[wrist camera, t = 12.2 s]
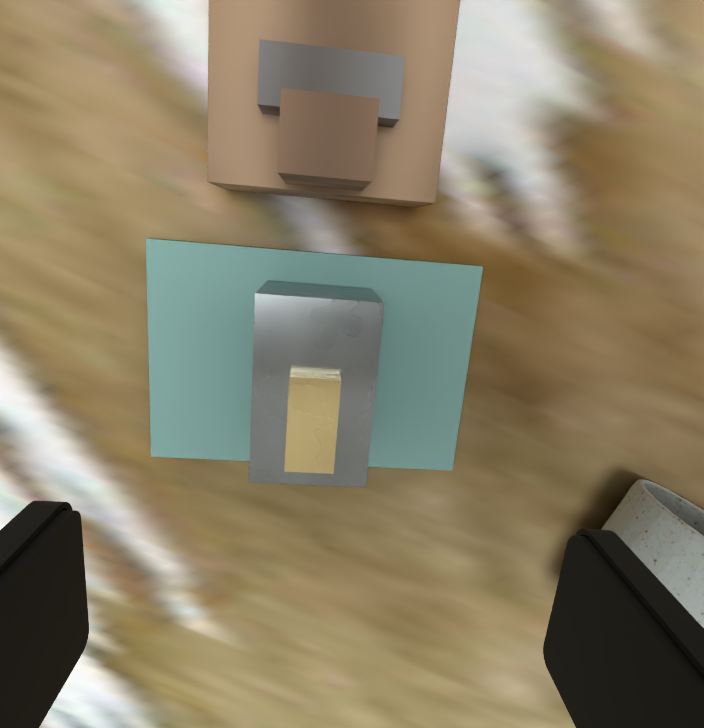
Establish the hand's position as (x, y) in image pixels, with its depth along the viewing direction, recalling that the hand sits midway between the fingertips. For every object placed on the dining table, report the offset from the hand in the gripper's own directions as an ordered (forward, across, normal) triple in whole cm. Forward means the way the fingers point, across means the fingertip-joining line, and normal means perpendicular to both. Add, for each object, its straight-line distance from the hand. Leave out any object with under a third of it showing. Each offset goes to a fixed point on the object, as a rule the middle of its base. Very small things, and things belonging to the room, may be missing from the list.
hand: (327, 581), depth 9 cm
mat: (+17, +1, 0) cm, 17 cm away
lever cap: (+16, +1, 0) cm, 16 cm away
